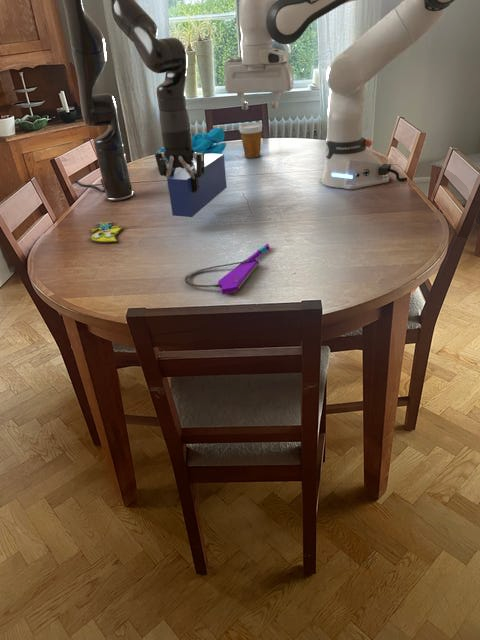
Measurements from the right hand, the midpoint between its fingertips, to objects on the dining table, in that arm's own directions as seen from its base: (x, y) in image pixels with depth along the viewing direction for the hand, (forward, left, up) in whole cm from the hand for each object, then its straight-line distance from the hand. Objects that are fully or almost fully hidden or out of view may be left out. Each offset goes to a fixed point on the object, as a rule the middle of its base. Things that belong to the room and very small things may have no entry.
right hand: (259, 108), depth 143 cm
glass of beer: (-5, -53, -27) cm, 60 cm away
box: (+21, +11, -22) cm, 32 cm away
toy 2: (+20, -57, -27) cm, 66 cm away
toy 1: (+51, +15, -27) cm, 59 cm away
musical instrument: (+19, +50, -27) cm, 59 cm away
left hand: (+26, +20, -16) cm, 36 cm away
